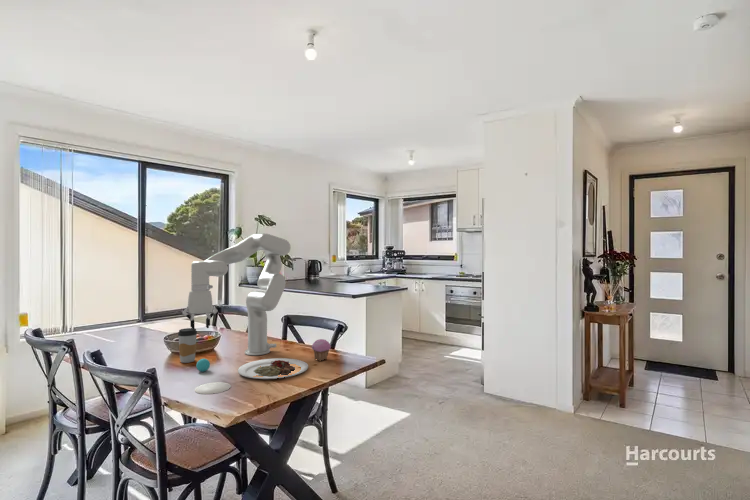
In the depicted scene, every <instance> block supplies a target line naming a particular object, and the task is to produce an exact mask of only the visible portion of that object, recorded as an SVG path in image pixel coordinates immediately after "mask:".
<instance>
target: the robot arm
mask: <svg viewBox="0 0 750 500" xmlns="http://www.w3.org/2000/svg"><path fill="white" fill-rule="evenodd" d="M259 251H263V253H264V256H265V263H264V267H263V269H262V271H261V273H260V275H259V277H258V279H257V283H256V284H257V288H258V289H260V290H254V291H251V292H249V293H248V294H247V295H246V299H245V304H246V310H247V348H246V349H245V350H244V354H245V355H247V356H263V355H267V354H269V353H270V352H271V349H272V348H273V349H274V348H277V343H269V342H268V315H267V312H271V311H273V310H275V309H276V308H277V305H278V304H279V301H280V299H281V297H282V295H283V293H284V291H285V287H286V285H287V284H286V283H287V282H286V281H287V280H286V277H285V276H284V274H282V273H281V270H282V265H283V264H282V259H281V257H282V256H286V255H288V254H289V253H290V252H291V244H290V242H289V241H288V240H287V239H285V238H282V237H278V236H275V235H272V234H269V233H252V234H251V235H249V236H247V237H246V238H244V239H242V240H241V241H239V242H238V243H236V244H234V245H233V246H231V247H228V248H225V249H224V250H221V251H218V252H216V253H215V254H212V255H211V256H210V257H208V258H207V259H205V260H204V261H203V260H196V261H195V260H194V261H193V262H191V269H190V270H191V271H190V272H191V278H190V279H191V280H190V281H191V282H190V283H191V288H190V290H191V291H189V292H188V297H187V299H188V300H187V306H186V308H185V309H184V310H183V311H182V315H184V317H186V318H188V320H190V322H189V323H190V324H189V325H190V326H189V328H192V329H194V328H195V319H194V318H195V316H196V315H198V314H205V315H206V318H205V327H206V329H209V328H210V326H211V319H212V318H213V316H215V314H217V313H218V312H219V311H218V309H217V308H216V307H215V305H214V304H213V296H212V292H211V289H213V288H214V287H213V285H212V284H210V277H217V278H218V277H223V276H224V275H226V274H227V273H228V271H229V266H228V265H231V264H236V263H240V262H243V261H245V260H246V259H248V258H249V257H251V256H252V255H254V254H256V253H257V252H259ZM262 290H263V291H262ZM187 312H188V313H187Z"/></svg>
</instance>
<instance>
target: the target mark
mask: <svg viewBox="0 0 750 500" xmlns="http://www.w3.org/2000/svg"><path fill="white" fill-rule="evenodd" d="M229 388H230V389H231V388H232V387H231V384H230V383H228V382H221V381H218V382H216V381H214V382H208V383H203V384H201V385H198V386H196V387H195V388H194V392H195V393H197V394H200V395H213V393H215V394H219V393H224V392H227V391H228V390H229ZM223 391H224V392H223Z"/></svg>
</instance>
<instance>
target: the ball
mask: <svg viewBox="0 0 750 500" xmlns="http://www.w3.org/2000/svg"><path fill="white" fill-rule="evenodd" d="M210 365H211V363H210V360H209V359H207V358H201V359H199V360H198V361H197V362H196V365H195V366H196V369H197V371H199V372H203V373H204V372H207V371H208V370H209V369H210V367H211V366H210Z"/></svg>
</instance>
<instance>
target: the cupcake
mask: <svg viewBox="0 0 750 500" xmlns="http://www.w3.org/2000/svg"><path fill="white" fill-rule="evenodd" d="M311 349H312V351H313V356H314V360H315V359H317V360H322V361H325V360H324V359H326V360H327V358H328V355H329V352H330V351H329V350H331V343H330V342H329V341H328V340H327V339H324V338H320V339H316V340H315V341H314V342H313V343H312V345H311ZM317 360H316V361H317Z"/></svg>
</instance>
